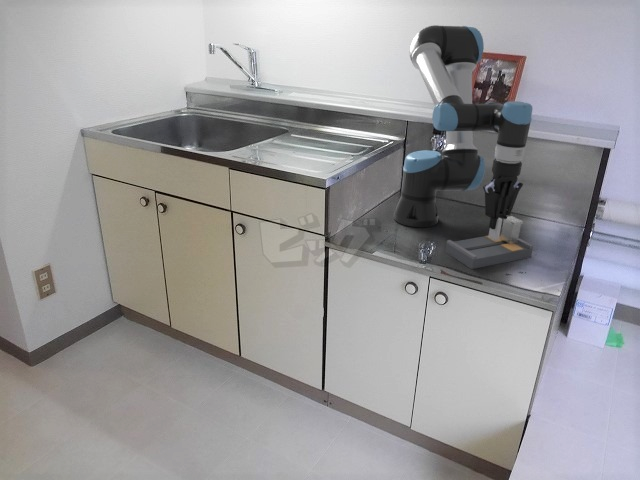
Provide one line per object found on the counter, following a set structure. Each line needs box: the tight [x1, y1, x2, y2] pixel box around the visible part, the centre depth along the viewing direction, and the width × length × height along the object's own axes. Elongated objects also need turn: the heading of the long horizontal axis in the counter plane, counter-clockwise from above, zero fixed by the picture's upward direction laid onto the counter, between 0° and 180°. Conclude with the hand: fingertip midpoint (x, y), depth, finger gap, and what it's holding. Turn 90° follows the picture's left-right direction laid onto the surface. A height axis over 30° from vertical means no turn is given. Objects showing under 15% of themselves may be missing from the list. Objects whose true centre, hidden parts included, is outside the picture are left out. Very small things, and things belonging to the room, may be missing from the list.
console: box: [445, 233, 534, 270], centre depth 152 cm, size 12×22×4 cm, turn 114°
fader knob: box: [500, 215, 524, 244], centre depth 153 cm, size 5×4×7 cm
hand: (493, 238), depth 151 cm, fingers closed
